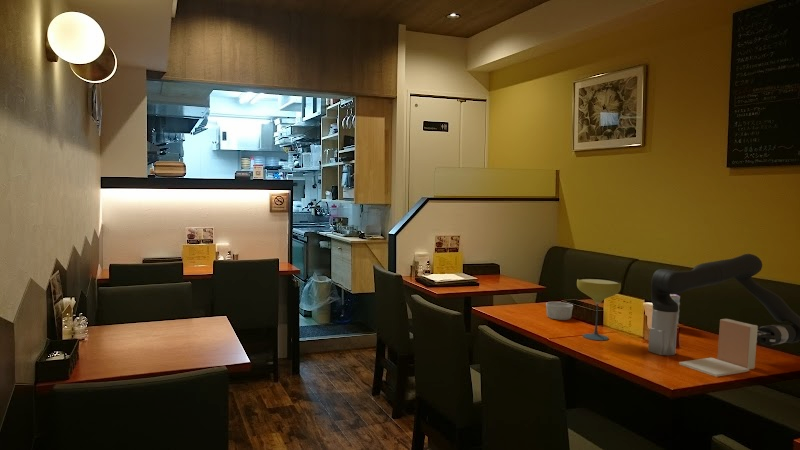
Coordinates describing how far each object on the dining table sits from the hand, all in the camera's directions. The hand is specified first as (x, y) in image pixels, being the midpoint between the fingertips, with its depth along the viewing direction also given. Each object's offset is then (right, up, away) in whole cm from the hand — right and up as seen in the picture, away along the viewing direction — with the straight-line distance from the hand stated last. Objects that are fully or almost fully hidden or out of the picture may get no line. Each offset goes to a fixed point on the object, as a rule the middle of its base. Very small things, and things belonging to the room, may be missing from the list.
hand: (744, 338), depth 217 cm
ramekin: (-51, -4, +69) cm, 86 cm away
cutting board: (-15, -9, -7) cm, 19 cm away
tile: (-4, -10, -1) cm, 10 cm away
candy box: (-3, -6, +56) cm, 56 cm away
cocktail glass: (-45, -6, +32) cm, 56 cm away
